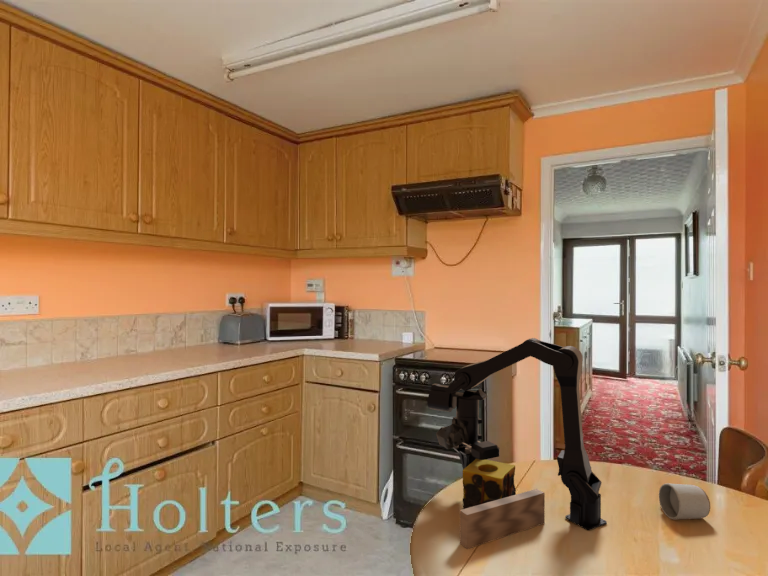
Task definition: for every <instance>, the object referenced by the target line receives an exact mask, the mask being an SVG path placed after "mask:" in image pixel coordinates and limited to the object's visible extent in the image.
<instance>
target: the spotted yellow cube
mask: <svg viewBox="0 0 768 576" xmlns="http://www.w3.org/2000/svg"><path fill="white" fill-rule="evenodd" d="M515 473H516V465H515V464H511V463H506V462H501V461H496V460H490V459H486V460H479V459H475V460H474V461H473V462H472V463H471V464H469V465H468V466H467V467H466V468H464V469H463V468H462V487H463V488H462V490H463V491H462V492H463V493H462V494H463V497H462V509H466V508H469V507H473V506H477V505H480V504H484V503H487V502H491V501H495V500H498V499H502V498H505V497H509V496H513V495H516V493H517V492H516V491H517V490H516V486H515V475H516V474H515Z"/></svg>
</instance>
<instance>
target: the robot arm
mask: <svg viewBox="0 0 768 576" xmlns="http://www.w3.org/2000/svg"><path fill="white" fill-rule="evenodd" d="M530 357H532V358H534V359H536V360H539V361H540V362H542V363H544V364H547V365H549V366H552V367H553V370H554V375H555V378H556V381H557V382H558V385H559V388H560V397H561V399H560V401H561V412H562V424H563V425H562V427H563V428H562V429H563V437H564V441H563V442H564V450H563V449H562V450H560V452H559V454H558V455H557V457H556V461H557V465H558V472H557V476H559V477H560V479H561V482H562V484H563V486H564V487H566V488H567V489H568V491H569V495H570V502H569V514H567V515H565V516H564V518H565V520H568V521H570V522H571V523H573V524H575V525H577V526H579V527H580V528H583V529H584V530H586V531H591V530H594V529H596V528H599V527H602V526H605V525H607V520H605V519H603V518H602V516H601V515H602V514H601V513H602V503H601V502H602V498H601V497H602V496H601V495H602V494H601V493H599V492H600V490H601V487H602V480H600V478H599V477H598V475H596V473H594V472H593V471H592V466H591V463H590V458H589V455H588V453H587V450H586V448H585V445H584V435H583V433H584V432H583V423H582V422H583V421H582V410H581V409H582V407H581V398H580V397H581V396H580V394H581V393H580V381H581V376H582V369H583V360H584V359H583V358H584V357H583V354H582V352H581V350H579V349H578V348H577V347H575V346H573V345H567V346H561V345H558V344H555V343H551V342H547V341H543V340H540V339H537V338H535V337H532V338H528V339H526V340H524V341H523V342H522V343H520V344H518V345H516V346H514V347H511V348H509V349H508V350H505V351H504V352H501V353H499V354H498V355H494V356H493V357H491V358H489V359H486V360H481V361H478V362H474V363H471V364H468V365H465V366H463V367H460V368H457V370H455V372H454V375H453V380H452V382H451V383H450V384H448V385H445V384H440V383H433V384H431V385H430V390H429V393H428V397H427V399H426V404H427V407H428V409H430V410H435V411H439V412H440V411H441V412H448V413H452V411H453V410H455V409H456V410H455V412H456V416H454V417H452V419H451V424H450V425H447V426H441V427H440V428H439V429H438V431H436V437H437V441H438V444H439V446H442V447H444V448H445V449H446V450H452V449H454V451H456V452H457V454H458V457H459V460H460V463H461V467H462V470H463V469H464V468H466V467H467V466H468V465H469V464H471V463H472V462H473V461H474V460H475V459H479V460H486V459H487V460H490V459H495V458H498V457H500V447H499V446H498V445H497V444H495V443H494V442H491V441H489V440H485V441H480V440H483V435H482V434H480V433H479V429H480V428H479V427H480V424H483V419H482V418H480V417H479V416H480V415H479V414H480V408H479V407H480V401H483V400H485V399H487V397H488V395H487V394H486V393H485V392H484V391H483V390H482V388H479V389H477V390H476V391H474V390H471V389H473V388H475V387H477V386H478V385H480V384H481V383H483V382H484V381H485V380H487V379H488V378H489V377H491V376H492V375H494V374H495V373H497V372H499V371H501V370H504V369H506V368H507V367H510V366H512V365H515V364H517V363H519V362H522V361H523V360H525V359H527V358H530ZM461 390H462V391H464V392H459V391H461Z"/></svg>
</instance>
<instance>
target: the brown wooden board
mask: <svg viewBox="0 0 768 576" xmlns="http://www.w3.org/2000/svg"><path fill="white" fill-rule="evenodd" d="M545 495H546V494H545V492H544V491H542V490H540V489H538V488H534V489H531V490H527V491H524V492H521V493H517V494H516V495H513V496H509V497H505V498H502V499H498V500H495V501H491V502H487V503H484V504H480V505H477V506H473V507H469V508H466V509H463V508H462V509H460V510H459V544H460V545H461V546H462V547H464V548H465V549H466V550H468V549H471V548H473V547H477V546H481V545H484V544H486V543H489V542H493V541H495V540H499V539H501V538H504V537H508V536H511V535H514V534H517V533H520V532H523V531H526V530H529V529H532V528H535V527H538V526H542V525H544V524H545V516H546V513H545V510H546V509H545V505H546V504H545V497H546V496H545Z"/></svg>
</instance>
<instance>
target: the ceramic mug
mask: <svg viewBox="0 0 768 576" xmlns="http://www.w3.org/2000/svg"><path fill="white" fill-rule="evenodd" d="M658 500H659V504H660V505H659V506H660V508H661V510H662V512H663V513H664V514H665V516H666V517H667V518H669V519H670V520H693V519H696V520H697V519H699V520H700V519H703V518H706V517H708V515H709V514H710V512H711V501H710V499H709V496H708V494H707V493H706V491H705V490H704V488H702V487H700V486H697V485H694V484H686V483H685V484H681V483H669V482H666V483H663V484H662V485H661V486H660V488H659V490H658Z"/></svg>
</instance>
